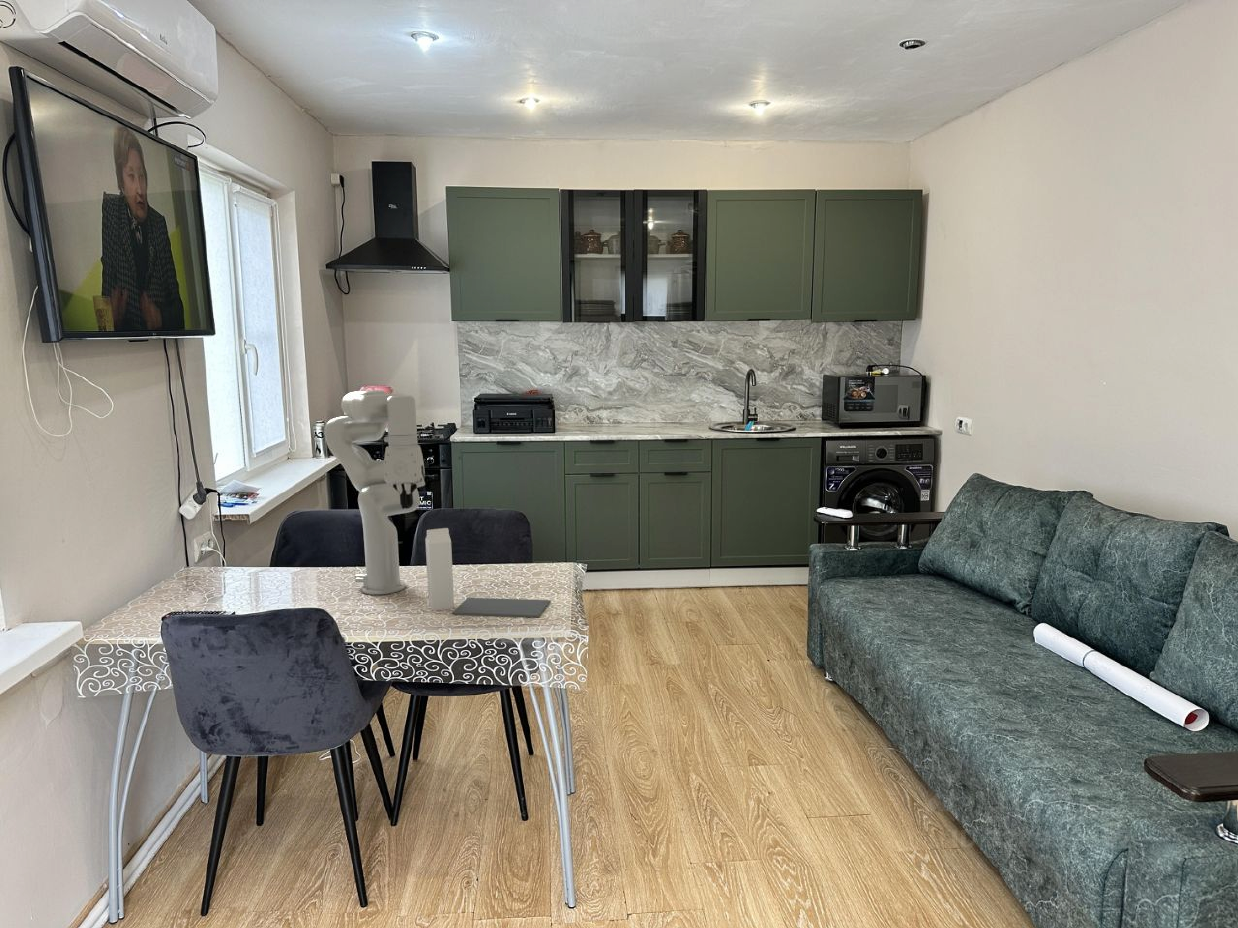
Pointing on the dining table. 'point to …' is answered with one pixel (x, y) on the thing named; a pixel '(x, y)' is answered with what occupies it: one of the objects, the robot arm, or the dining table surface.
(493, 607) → the mat
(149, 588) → the dining table surface
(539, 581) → the dining table surface
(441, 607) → the milk
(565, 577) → the dining table surface
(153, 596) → the dining table surface
